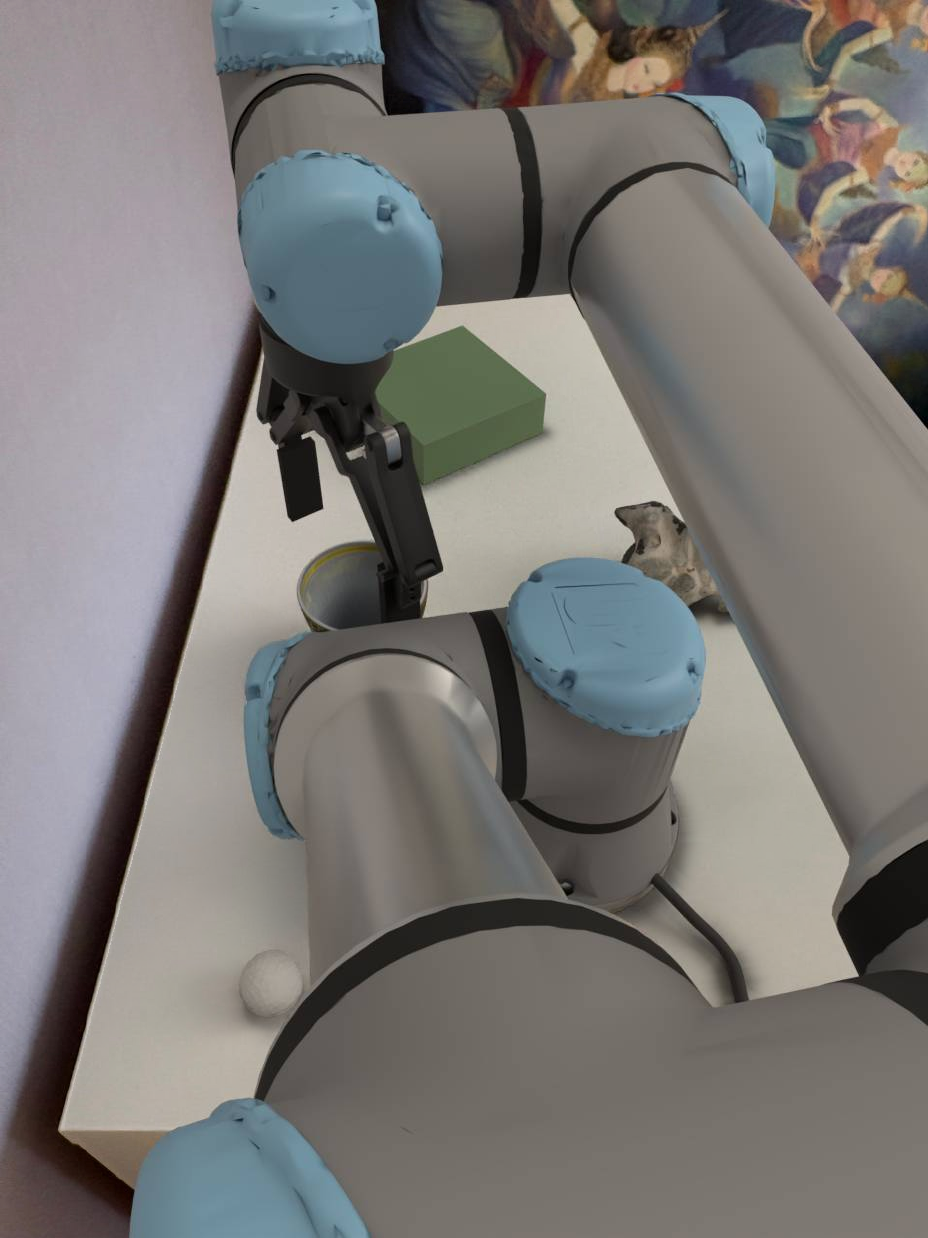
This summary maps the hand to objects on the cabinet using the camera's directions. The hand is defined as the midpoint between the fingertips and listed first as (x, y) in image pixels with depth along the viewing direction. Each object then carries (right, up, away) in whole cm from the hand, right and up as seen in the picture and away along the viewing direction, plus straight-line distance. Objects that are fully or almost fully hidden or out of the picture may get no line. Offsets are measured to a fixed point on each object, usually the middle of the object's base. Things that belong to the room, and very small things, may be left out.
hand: (351, 566), depth 70 cm
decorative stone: (+30, +3, +11) cm, 32 cm away
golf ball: (-4, -28, -7) cm, 30 cm away
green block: (+6, +17, +33) cm, 38 cm away
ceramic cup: (0, -9, +10) cm, 14 cm away
